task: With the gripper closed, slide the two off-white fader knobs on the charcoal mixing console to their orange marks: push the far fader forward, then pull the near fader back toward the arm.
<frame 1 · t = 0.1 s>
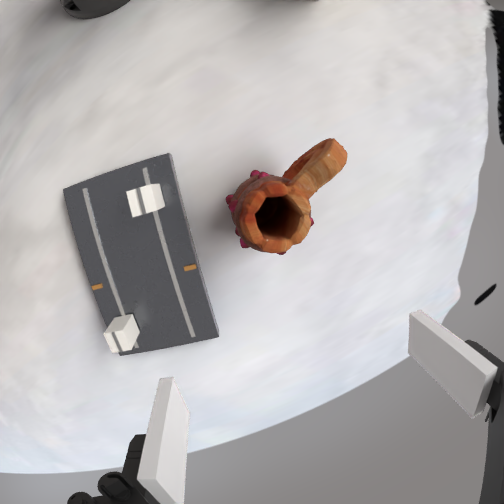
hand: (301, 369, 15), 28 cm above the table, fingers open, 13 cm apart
mug: (272, 190, 40), on the table
console: (140, 261, 40), on the table
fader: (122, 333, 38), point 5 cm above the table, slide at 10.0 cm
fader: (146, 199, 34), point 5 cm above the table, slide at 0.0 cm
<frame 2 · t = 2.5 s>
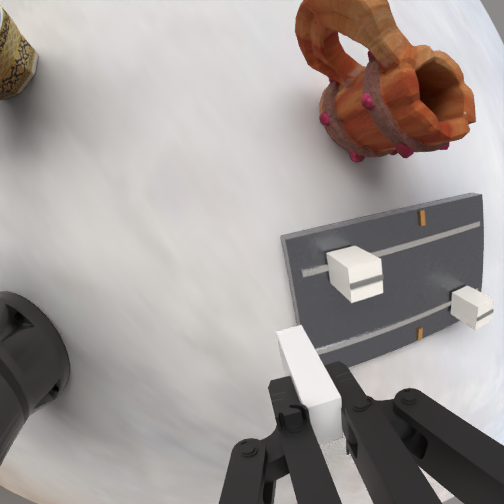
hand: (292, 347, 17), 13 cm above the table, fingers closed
ceramic cup: (8, 76, 21), on the table
mug: (332, 101, 26), on the table
console: (400, 278, 32), on the table
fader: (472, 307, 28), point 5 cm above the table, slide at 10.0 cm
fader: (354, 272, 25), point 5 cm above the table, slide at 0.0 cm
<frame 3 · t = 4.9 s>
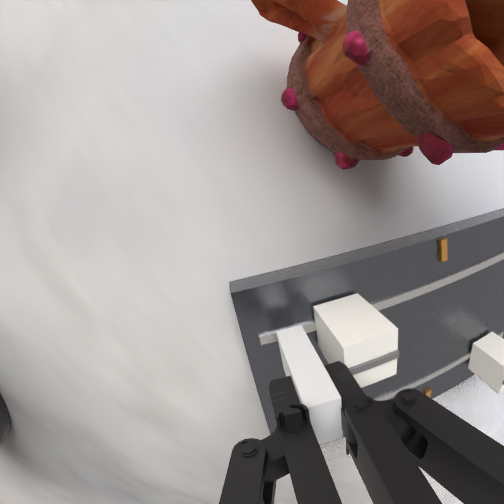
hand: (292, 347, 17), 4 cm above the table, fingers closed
mug: (309, 77, 17), on the table
console: (407, 329, 22), on the table
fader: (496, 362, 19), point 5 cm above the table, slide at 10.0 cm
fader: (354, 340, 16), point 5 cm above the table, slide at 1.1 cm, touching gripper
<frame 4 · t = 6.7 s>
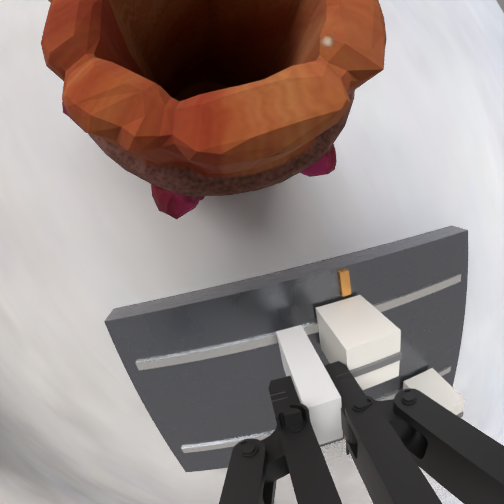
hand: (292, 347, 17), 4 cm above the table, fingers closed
mug: (183, 98, 17), on the table
console: (317, 363, 22), on the table
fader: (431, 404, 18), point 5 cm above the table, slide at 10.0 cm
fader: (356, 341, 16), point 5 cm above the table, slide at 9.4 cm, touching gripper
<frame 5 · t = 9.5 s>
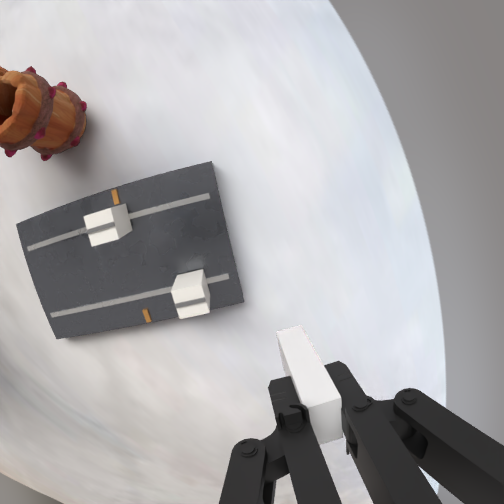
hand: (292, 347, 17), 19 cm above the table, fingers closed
mug: (55, 113, 29), on the table
console: (121, 257, 34), on the table
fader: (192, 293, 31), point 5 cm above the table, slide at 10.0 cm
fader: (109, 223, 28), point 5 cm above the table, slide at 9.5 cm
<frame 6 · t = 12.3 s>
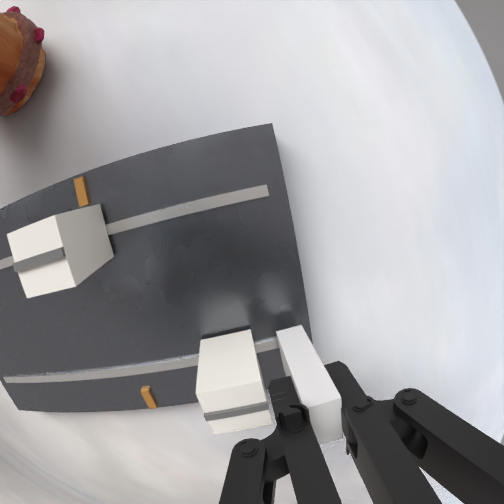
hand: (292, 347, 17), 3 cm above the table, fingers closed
mug: (5, 63, 13), on the table
console: (100, 300, 18), on the table
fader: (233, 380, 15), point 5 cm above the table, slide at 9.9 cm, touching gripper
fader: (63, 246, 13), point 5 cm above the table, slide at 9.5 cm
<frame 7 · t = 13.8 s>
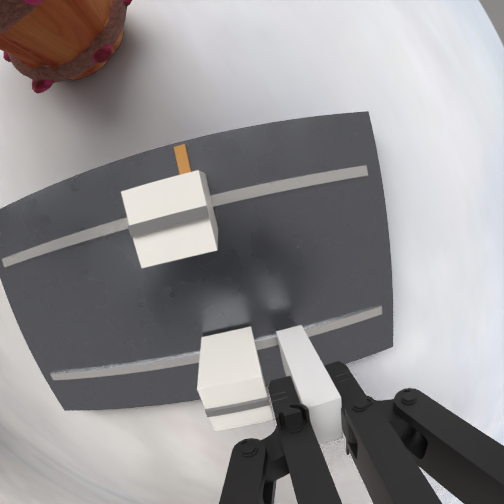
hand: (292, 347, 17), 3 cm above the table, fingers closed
mug: (66, 29, 14), on the table
console: (183, 280, 19), on the table
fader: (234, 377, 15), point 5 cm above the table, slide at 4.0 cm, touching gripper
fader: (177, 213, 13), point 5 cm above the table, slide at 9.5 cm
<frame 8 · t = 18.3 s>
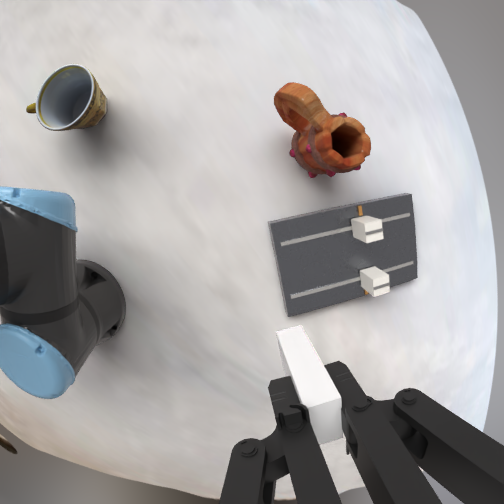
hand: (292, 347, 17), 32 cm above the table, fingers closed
ceramic cup: (82, 111, 41), on the table
mug: (300, 138, 46), on the table
console: (349, 251, 51), on the table
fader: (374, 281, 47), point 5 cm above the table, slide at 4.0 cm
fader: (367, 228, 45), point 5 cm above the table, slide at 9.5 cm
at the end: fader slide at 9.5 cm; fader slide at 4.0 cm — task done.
